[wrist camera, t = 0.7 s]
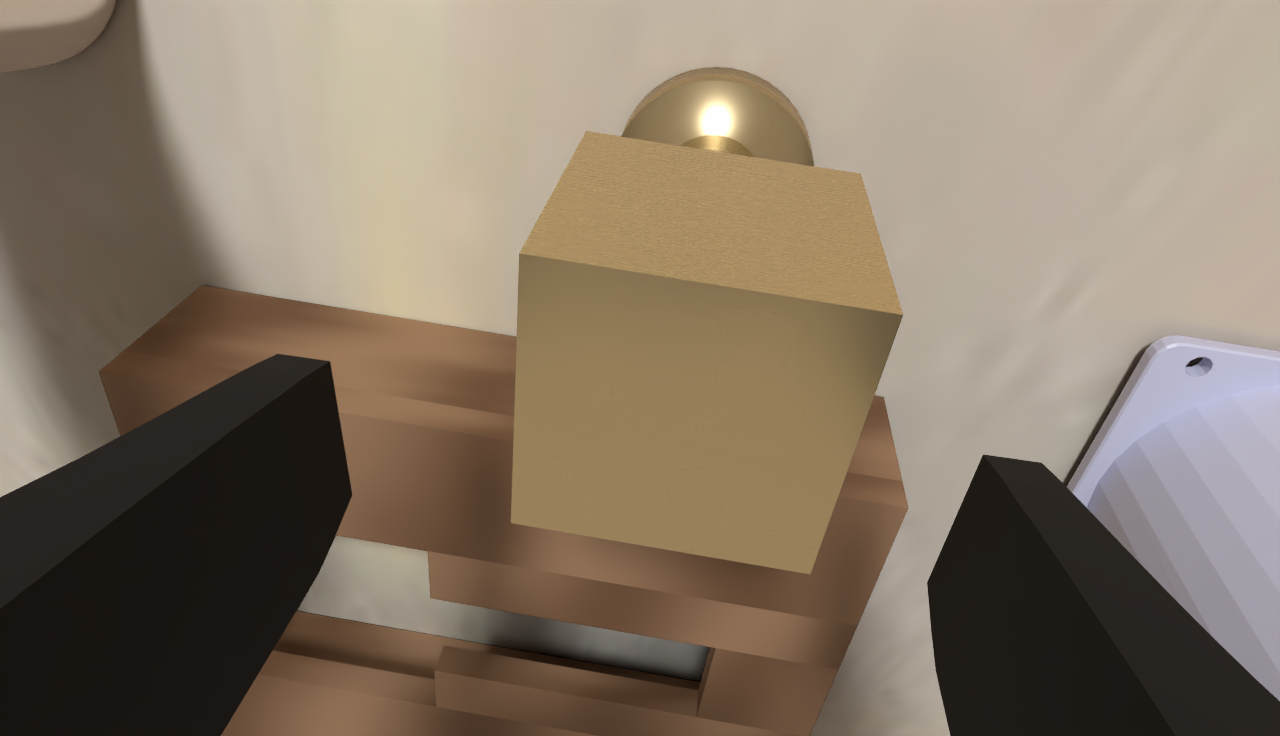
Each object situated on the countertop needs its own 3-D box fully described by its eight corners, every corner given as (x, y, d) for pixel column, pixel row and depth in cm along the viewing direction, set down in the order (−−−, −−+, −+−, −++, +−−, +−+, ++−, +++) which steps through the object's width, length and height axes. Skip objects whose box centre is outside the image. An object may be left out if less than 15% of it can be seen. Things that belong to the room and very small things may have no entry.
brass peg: (833, 83, 15) (902, 315, 8) (788, 267, 18) (810, 574, 10) (629, 52, 16) (519, 253, 8) (609, 238, 18) (510, 522, 11)
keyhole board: (883, 396, 19) (908, 508, 16) (764, 720, 27) (766, 836, 24) (202, 285, 20) (98, 371, 17) (282, 634, 28) (222, 737, 25)
